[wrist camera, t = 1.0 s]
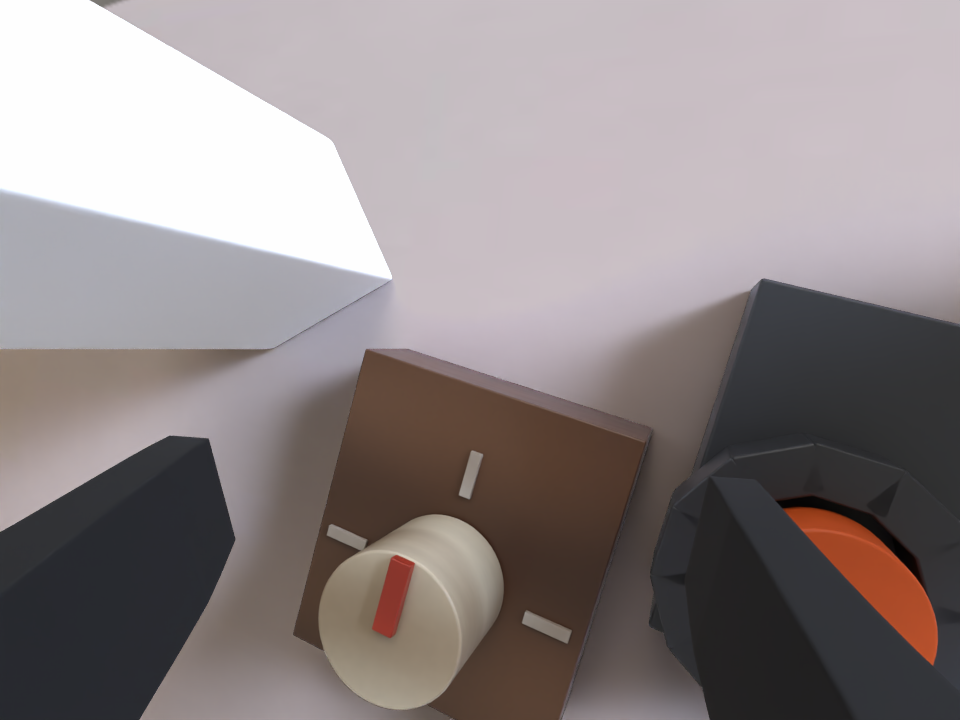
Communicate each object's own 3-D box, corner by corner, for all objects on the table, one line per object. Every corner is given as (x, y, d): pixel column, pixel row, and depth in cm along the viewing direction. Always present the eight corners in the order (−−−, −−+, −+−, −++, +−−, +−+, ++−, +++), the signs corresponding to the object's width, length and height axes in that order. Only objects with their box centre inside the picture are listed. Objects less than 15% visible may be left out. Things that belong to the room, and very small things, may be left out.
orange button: (872, 705, 14) (899, 759, 12) (695, 631, 15) (695, 670, 13) (933, 544, 14) (970, 574, 12) (745, 481, 15) (752, 500, 13)
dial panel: (564, 712, 21) (542, 773, 18) (339, 602, 23) (288, 640, 20) (653, 427, 20) (645, 442, 17) (406, 348, 22) (362, 348, 19)
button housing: (892, 704, 18) (957, 818, 13) (635, 598, 20) (619, 666, 16) (1026, 352, 16) (1143, 354, 12) (736, 283, 19) (749, 264, 14)
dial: (484, 667, 18) (431, 747, 15) (369, 612, 20) (294, 673, 16) (520, 543, 18) (476, 594, 14) (401, 494, 19) (331, 529, 15)
